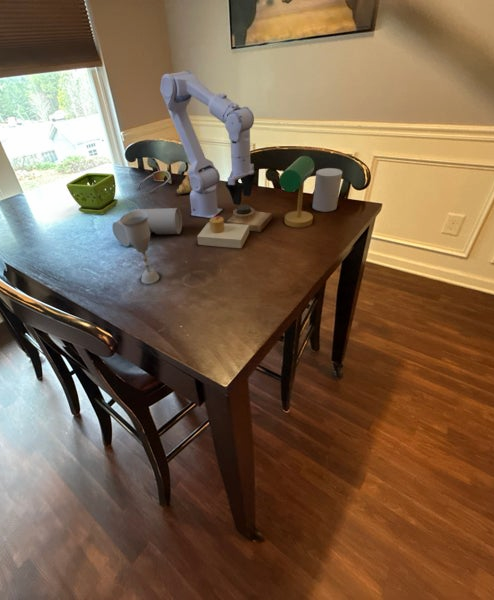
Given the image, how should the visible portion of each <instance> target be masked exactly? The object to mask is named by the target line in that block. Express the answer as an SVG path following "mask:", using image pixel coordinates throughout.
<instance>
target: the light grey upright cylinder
mask: <svg viewBox="0 0 494 600" xmlns="http://www.w3.org/2000/svg"><path fill="white" fill-rule="evenodd" d="M342 177H343V170H341V169H340V168H333V167H325V168H321V169H318V170H316V171H315V179H314V187H313V188H314V190H313V198H312V207H311V208H312V209H313V210H315V211H319V212H323V213H325V212H333V211H335V210H337V207H338V201H339V195H340V189H341V183H342Z"/></svg>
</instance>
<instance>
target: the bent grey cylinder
mask: <svg viewBox="0 0 494 600" xmlns="http://www.w3.org/2000/svg"><path fill="white" fill-rule="evenodd" d="M134 211H144V212H146V213H148V218H147V222H148V226H149V230H150V235H151V234H152V233H155V234H156V235H180V234H181V232H182V229H183V217H182V212H181V210H180V208H179V207H172V208H171V207H169V208H167V207H166V208H136V209H134V208H133V209H132V212H134ZM111 228H112V233H113V235H114V237H115V239H116V240H117V242H118V243H119V244H120V245H122V246H123V247H129V246H132V244H131V243H130V241H129V240H128V239H127V235H126V232H125V228H124V225H123V224H122V222H121V221H120V219H118V220H117V221H114V222H113V223H112V226H111Z"/></svg>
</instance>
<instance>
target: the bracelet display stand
mask: <svg viewBox="0 0 494 600" xmlns="http://www.w3.org/2000/svg"><path fill="white" fill-rule="evenodd" d="M314 170H315V162H314V159H312V158H311V157H310V156H308V155H302V156H300V157H298V158H297V159H296V160H295V161H293V162H292V163H291V165H290V166H288V167H287V168H286V169H285V170H284V171H283V172H282V173H281V174H280V177H279V180H278V181H279V186H280V188H281V189H282V190H283V191H285V192H287V193H294V192H296V191H297V190H298V193H297V207H296V208H297V209H296V210H294V211H289V212H287V213H286V214H285V215H284V224H285V225H286V226H289V227H291V228H306V227H309V226H311V225H312V224H313V220H314V215H313V214H312V213H310V212H308V211H304V210H302V209H303V200H304V199H303V198H304V187H305V182H306V181H307V179H308V178H309V177H310V176H311V175H312V174H313V172H314Z"/></svg>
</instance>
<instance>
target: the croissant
mask: <svg viewBox="0 0 494 600" xmlns="http://www.w3.org/2000/svg"><path fill="white" fill-rule="evenodd" d="M191 191H192V187H191V185H190V179H189V176H188V174H187V175H185V178H184V179H183V180H182V181H181V183H180V184H179V186H178V188H177V189H176V193H177V194H178V195H185V194H190V193H191Z"/></svg>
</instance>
